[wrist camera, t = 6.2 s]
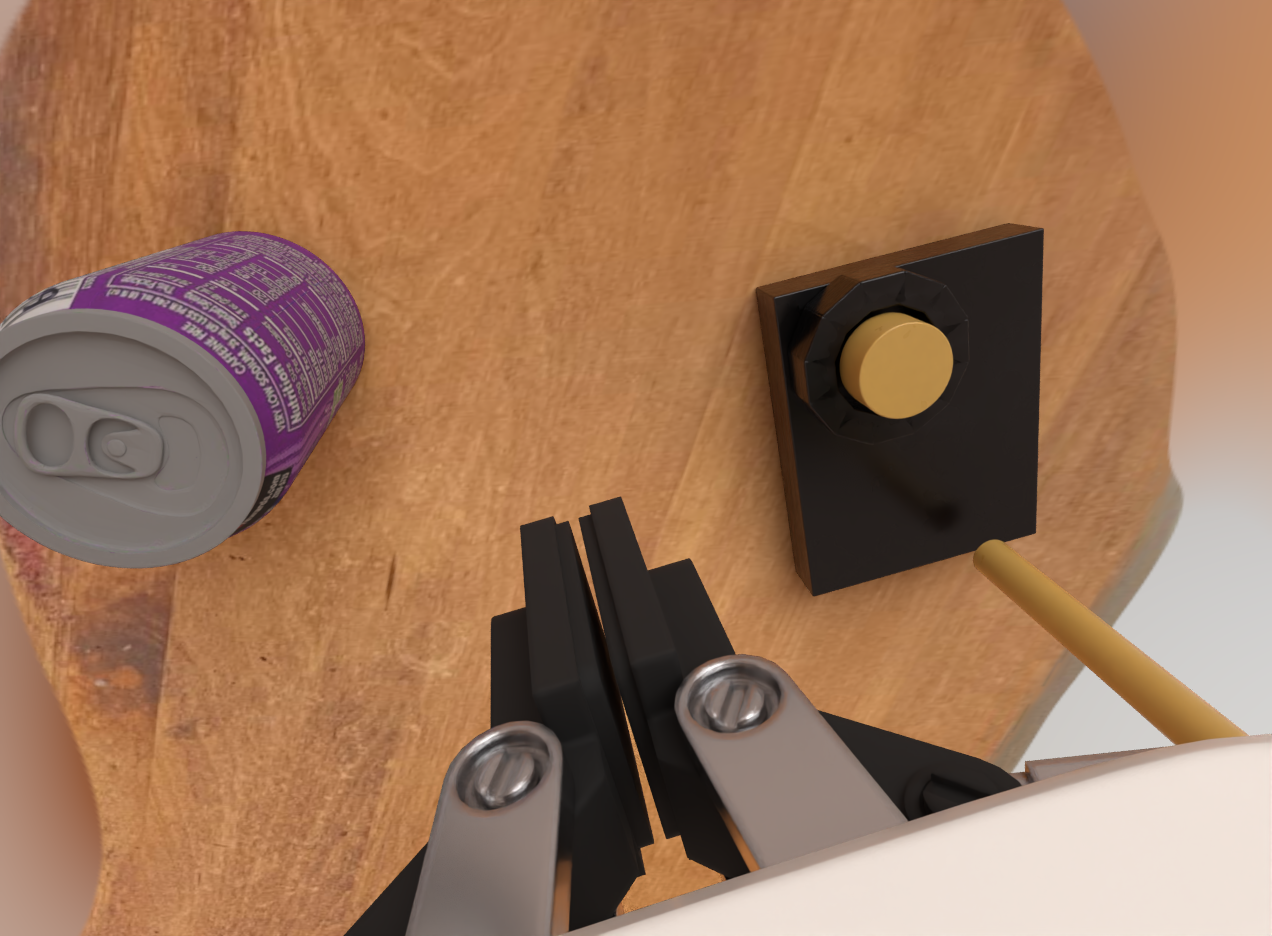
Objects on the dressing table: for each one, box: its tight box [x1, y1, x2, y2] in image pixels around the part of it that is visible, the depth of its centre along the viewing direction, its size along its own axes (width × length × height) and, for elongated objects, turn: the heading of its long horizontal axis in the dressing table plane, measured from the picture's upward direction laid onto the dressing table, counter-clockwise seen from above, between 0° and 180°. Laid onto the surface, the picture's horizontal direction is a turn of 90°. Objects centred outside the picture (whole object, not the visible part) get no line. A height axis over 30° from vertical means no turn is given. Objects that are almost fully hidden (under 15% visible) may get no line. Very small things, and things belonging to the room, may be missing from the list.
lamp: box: [973, 540, 1249, 745], centre depth 22 cm, size 8×8×22 cm
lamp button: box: [840, 312, 953, 419], centre depth 27 cm, size 4×4×2 cm
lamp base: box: [756, 223, 1044, 596], centre depth 31 cm, size 14×11×4 cm
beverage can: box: [0, 231, 365, 568], centre depth 22 cm, size 7×7×12 cm
